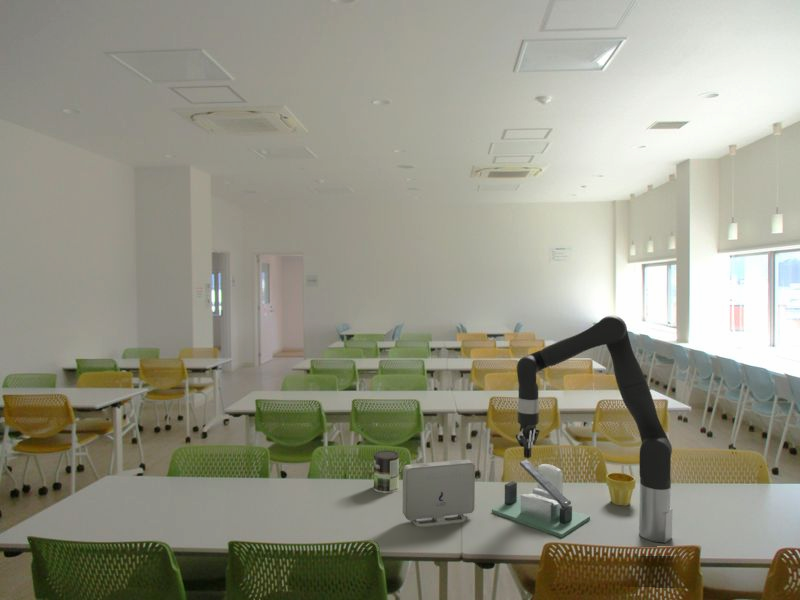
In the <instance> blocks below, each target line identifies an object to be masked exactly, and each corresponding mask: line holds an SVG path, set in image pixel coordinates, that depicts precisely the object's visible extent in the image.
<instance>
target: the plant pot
mask: <svg viewBox="0 0 800 600" xmlns="http://www.w3.org/2000/svg"><path fill="white" fill-rule="evenodd" d="M605 480H606V481H605V483H606V485H607V487H608V490H609V497H610V501H611V503H612V504H614V505H618V506H628V505H630V504H631V500H632V499H631V498H632V496H633V492H634V489H635V488H636V478H635V477H634V476H633V475H631V474H628V473H623V472H622V473H621V472H610V473H607V474H606V475H605Z"/></svg>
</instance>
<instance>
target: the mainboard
mask: <svg viewBox="0 0 800 600" xmlns="http://www.w3.org/2000/svg"><path fill="white" fill-rule="evenodd" d="M521 495H522V494H520V495H517V502H515V503H513V504H511V505H506V504H505V502H504V503H501V504H500V505H498V506H495V507H494V508H492V509H491V514H494V515H497V516H500V517H503V518H506V519H508V520H511V521H513V522H517V523H519V524H522V525H525V526H528V527H530V528H534V529H537V530H539V531H542V532H545V533H547V534H551V535H553V536H555V537H559V538H564V537H565V536H567V535H569V534H570V533H571V532H573V531H575V530H576V529H578V528H579V527H581V526H582V525H584V524H585V523H587V522H588V521H590V520H591V516H590V515H588V514H585V513H582V512H581V513H580V512H578V511H575V510H572V520H571V521H570V522H568V523H566V524H562V523H560V518H558V519H557V520H555V521H553V522H551V523H549V522H546V521H543V520H540V519H537V518H535V517H532V516H529V515H526V514H523V513H521Z"/></svg>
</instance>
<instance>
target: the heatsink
mask: <svg viewBox="0 0 800 600" xmlns="http://www.w3.org/2000/svg"><path fill="white" fill-rule="evenodd" d="M517 488H518V482H516V481H513V480H512V481H509V482H508V483H506V484H504V503H505V504H506V505H511V504H513V503H515V502H517V497H518V494H517V493H518V489H517ZM520 495H521V513H523V514H526V515H529V516H532V517H535V518H537V519H540V520H543V521H546V522H549V523H551V522H553V521H555V520H557V519H558V518H560V523H562V524H566V523H568V522H570V521H571V520H572V511H573V506H572V505H568V506H567V507H565V508H562V507H561V505H560V504H559V503H558V502H557V501H556V500H555V499H554V498H553V497H552V496H551V495H550V494H549V493H548V492H547V491H545V490H542V489H539V488H537V487H534V488H532V492H530V493H528V494H526V493H522V494H520ZM563 496H564V497H565V498H566V496H565V495H563Z"/></svg>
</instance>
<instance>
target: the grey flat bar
mask: <svg viewBox="0 0 800 600" xmlns="http://www.w3.org/2000/svg"><path fill="white" fill-rule="evenodd" d="M519 465H520V466H521V467H522V468H523V469H524V470H525V471H526V472H527V473H528V474H529V475H530V476H531V477H532V478H533V479H534V480H535V482H537V484H538V483H539V484H540V485H541V486H542V487H543V488H544V489H545V490H546V491H547V492H548V493H549V494H550V495H551V496H552V497H553V498H554V499H555V500H556V501H557V502H558V503H559V504H560V505H561V507H562V508H565V507H567V506H568V505H569V506H571V504H572V501H571V500H568V498H566V496H565V495H562V494H561V493H560V492H559V491H558V490H557V489H556V488H555V487H554V486H553V485H552V484H551V483H550V482H549V481H548V480H547V479H546V478H545V477H544V476H543V475H542V474H541V473H540V472H539V471H538V468H536V467H535V466H534V465H533V464H532V463H531V462H530V461H529V460H528V458H525V459H523V460H522V461H520V462H519ZM564 496H565V497H564Z"/></svg>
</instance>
